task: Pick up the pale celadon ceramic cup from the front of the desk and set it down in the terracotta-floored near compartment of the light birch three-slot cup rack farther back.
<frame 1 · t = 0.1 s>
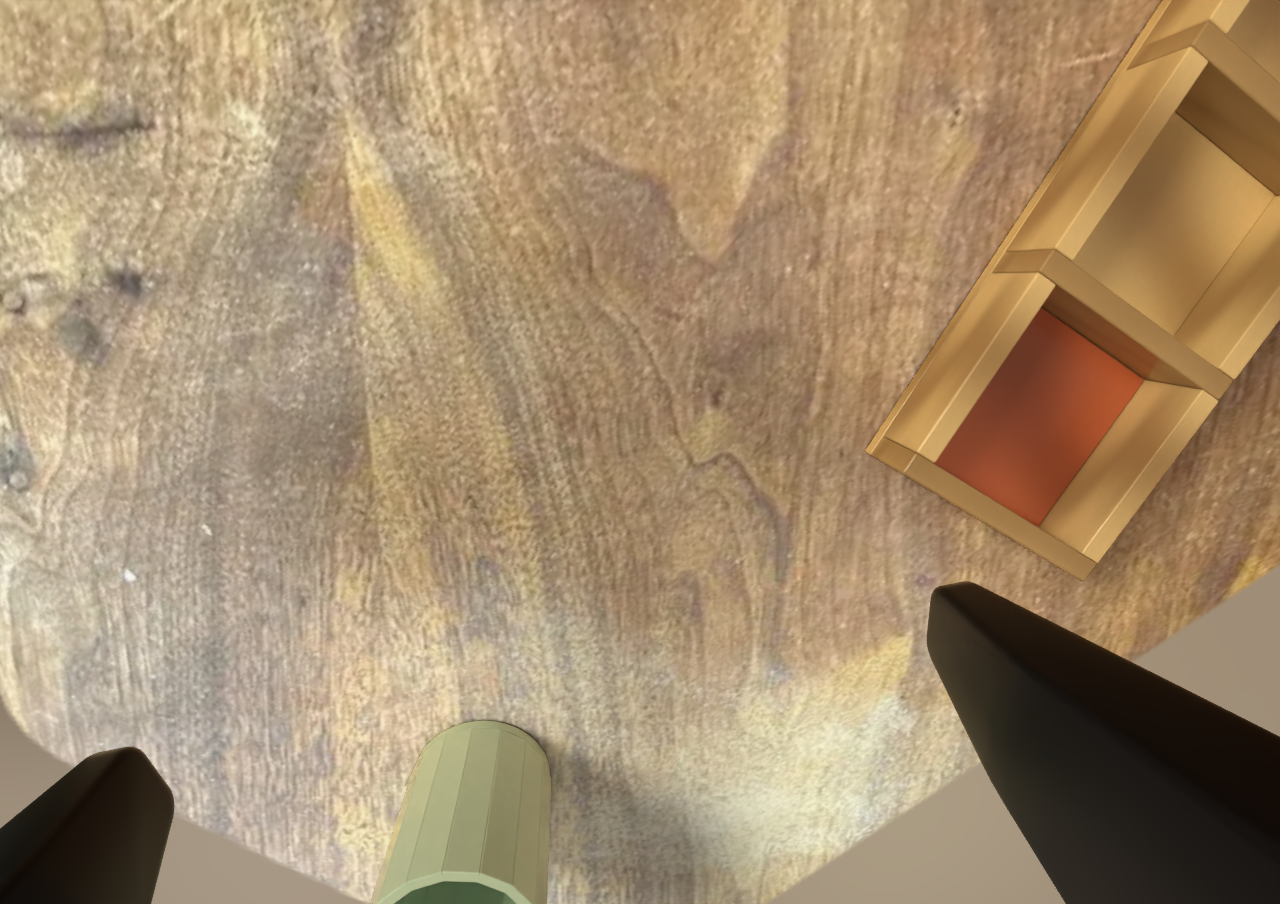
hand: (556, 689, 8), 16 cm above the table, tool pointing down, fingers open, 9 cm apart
rack: (1137, 230, 24), on the table
cup: (482, 778, 27), on the table
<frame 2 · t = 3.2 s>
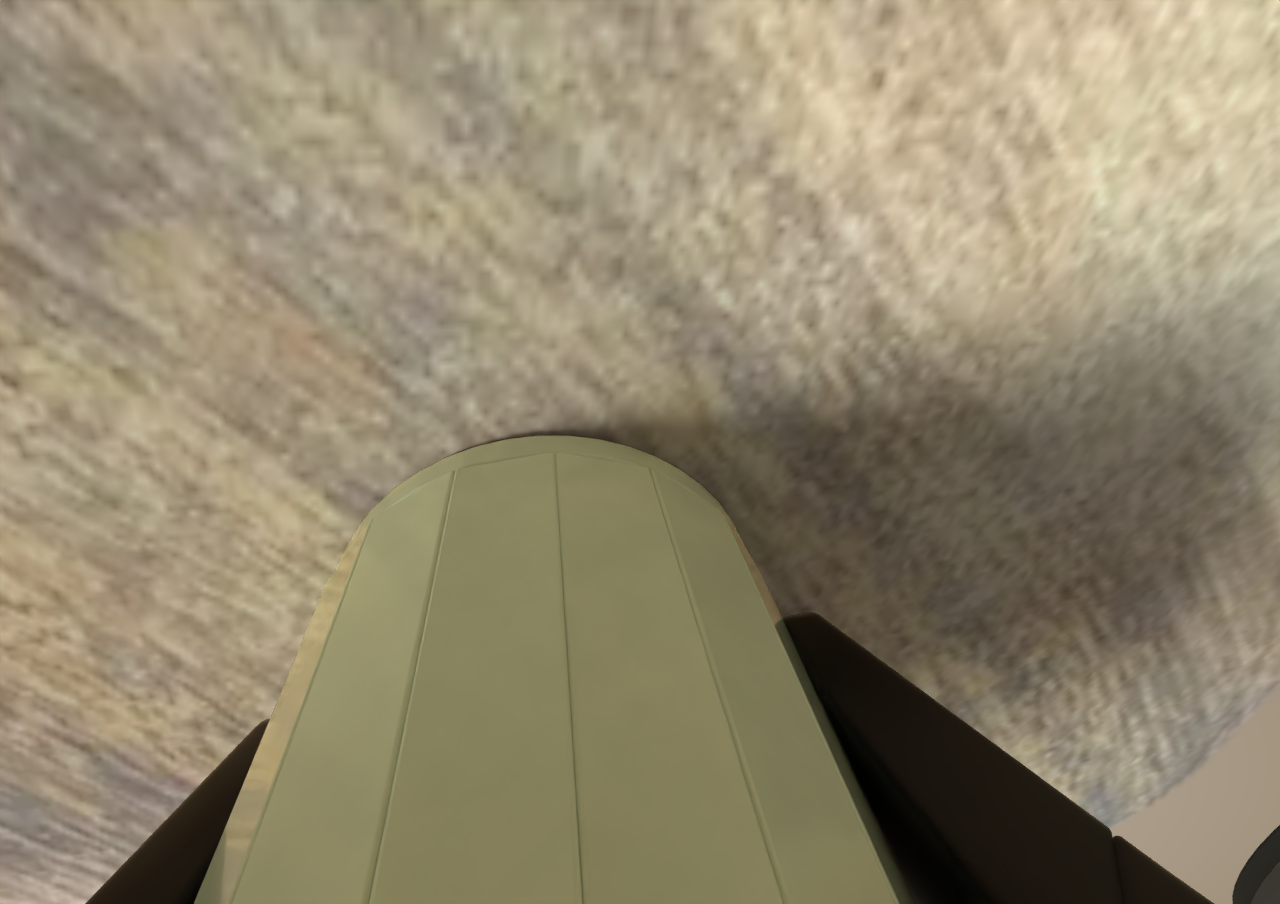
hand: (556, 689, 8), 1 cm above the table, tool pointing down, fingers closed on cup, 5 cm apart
cup: (551, 616, 9), on the table, touching gripper
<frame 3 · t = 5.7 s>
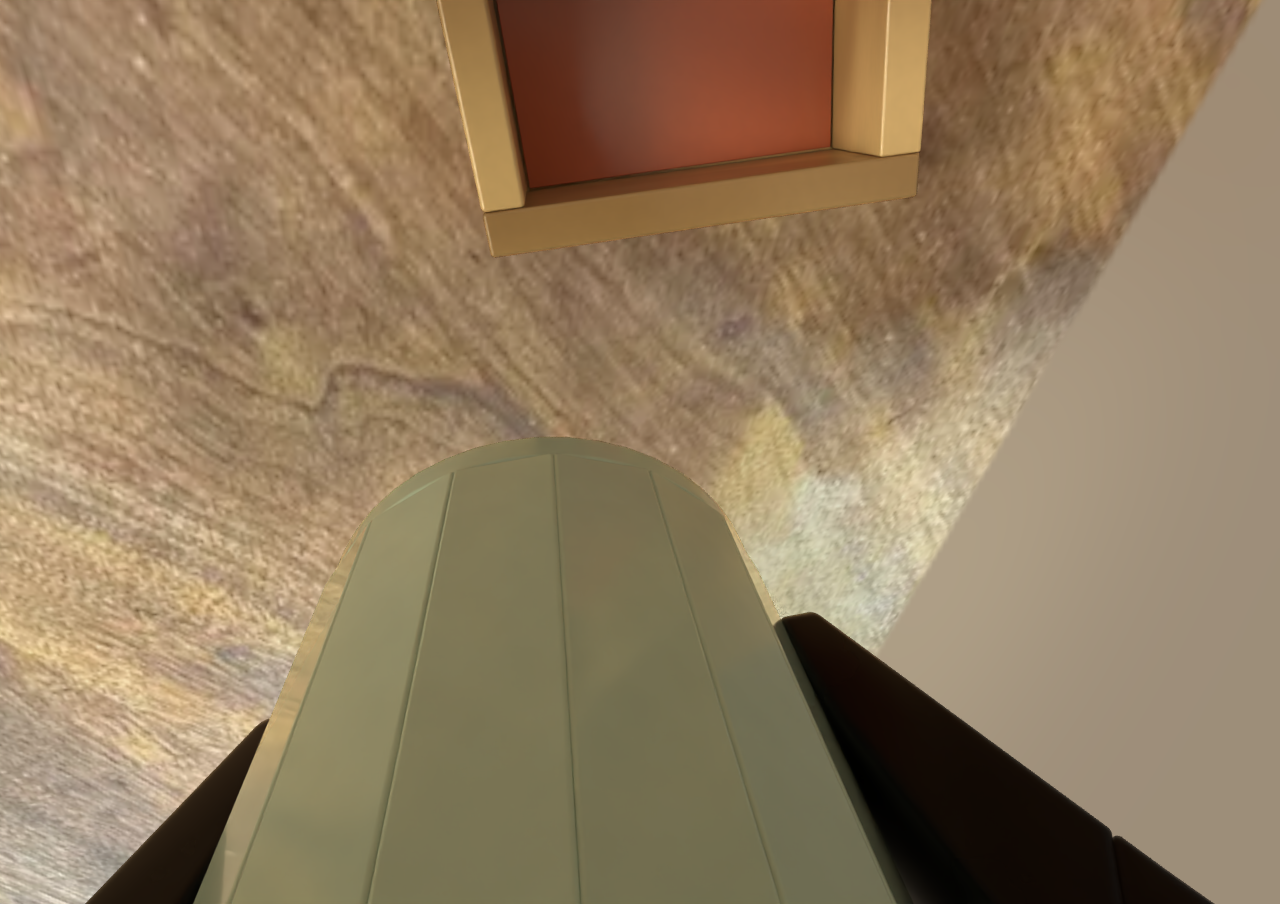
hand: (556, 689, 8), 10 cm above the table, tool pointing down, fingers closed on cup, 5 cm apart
cup: (550, 617, 9), point 9 cm above the table, touching gripper
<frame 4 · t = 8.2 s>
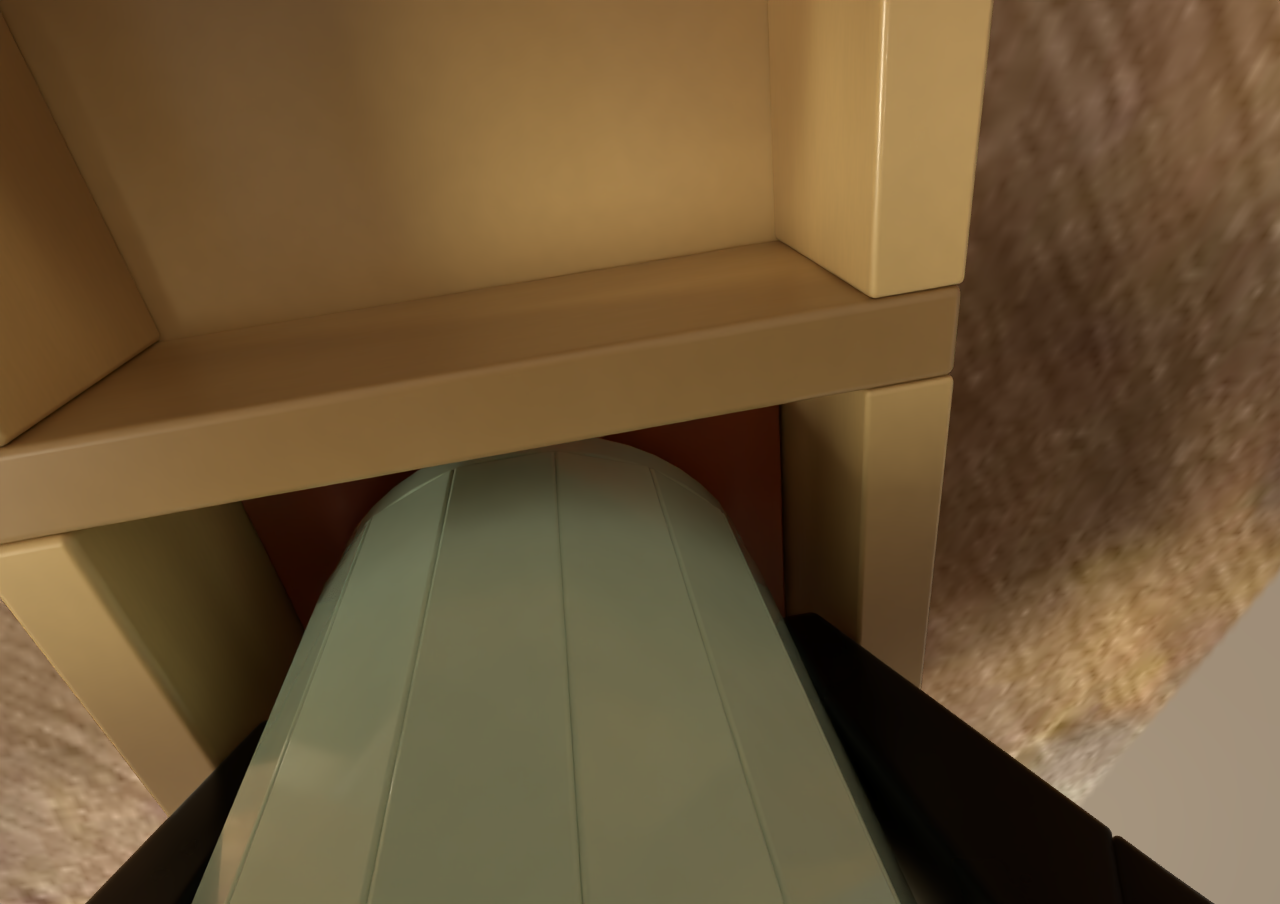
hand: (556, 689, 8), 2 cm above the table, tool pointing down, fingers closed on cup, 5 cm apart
cup: (550, 616, 9), point 1 cm above the table, touching gripper
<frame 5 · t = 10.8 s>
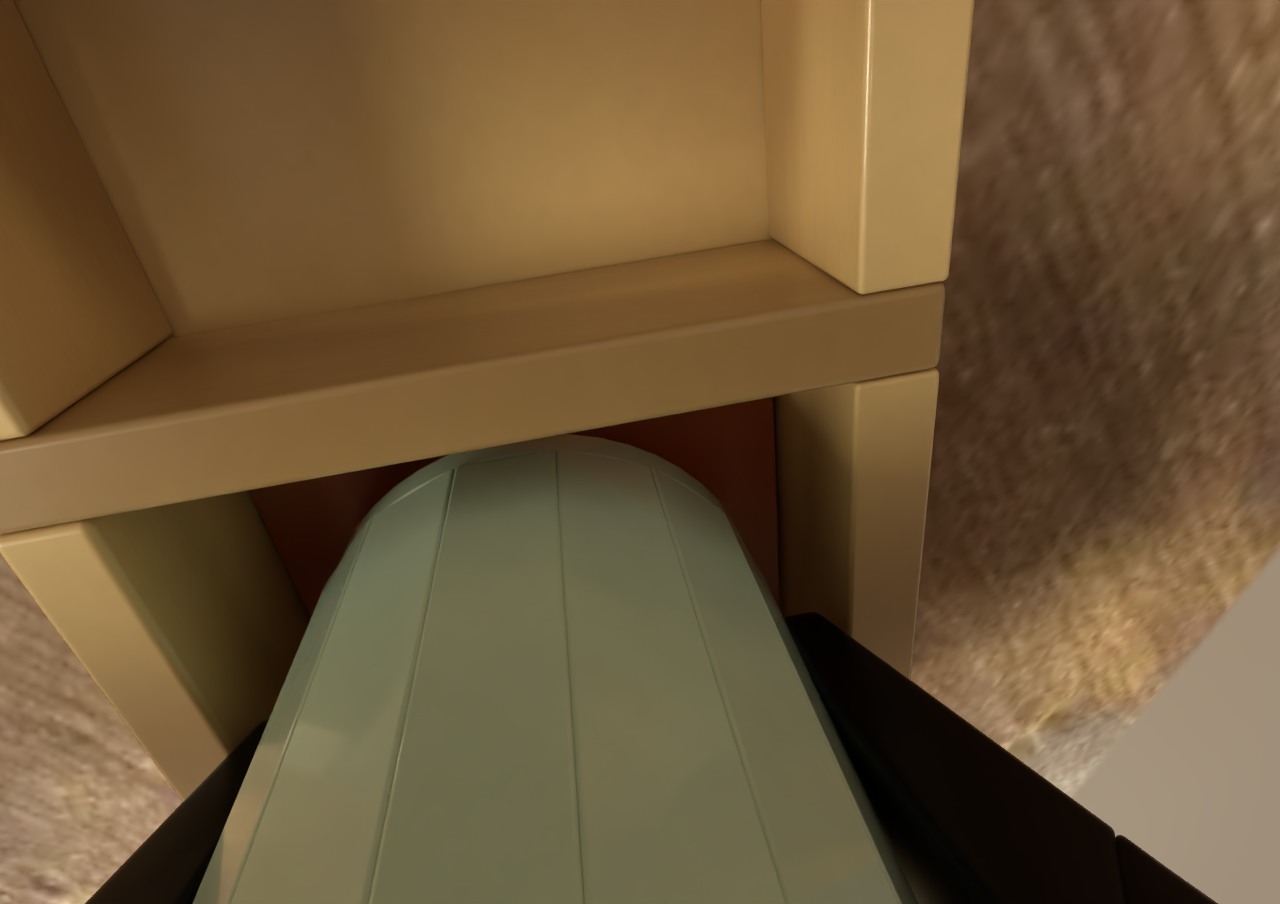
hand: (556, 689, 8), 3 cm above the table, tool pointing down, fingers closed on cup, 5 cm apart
cup: (551, 615, 9), point 1 cm above the table, touching gripper
when the fingers open (3 cm above the table, at t = 13.3 s): cup drops 1 cm, resting on rack.
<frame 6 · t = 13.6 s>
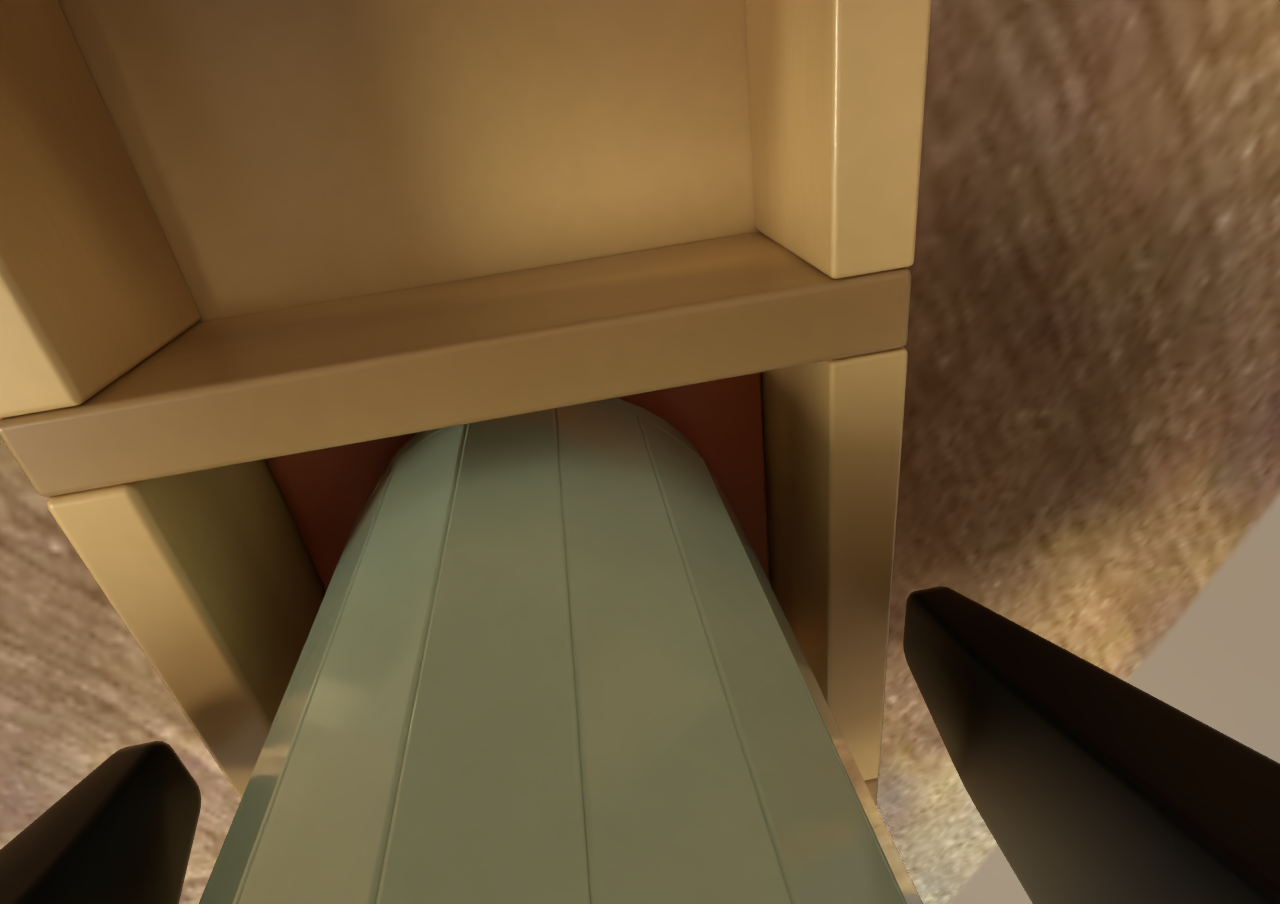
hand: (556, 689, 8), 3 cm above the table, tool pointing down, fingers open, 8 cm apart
cup: (551, 553, 10), point 1 cm above the table, touching rack
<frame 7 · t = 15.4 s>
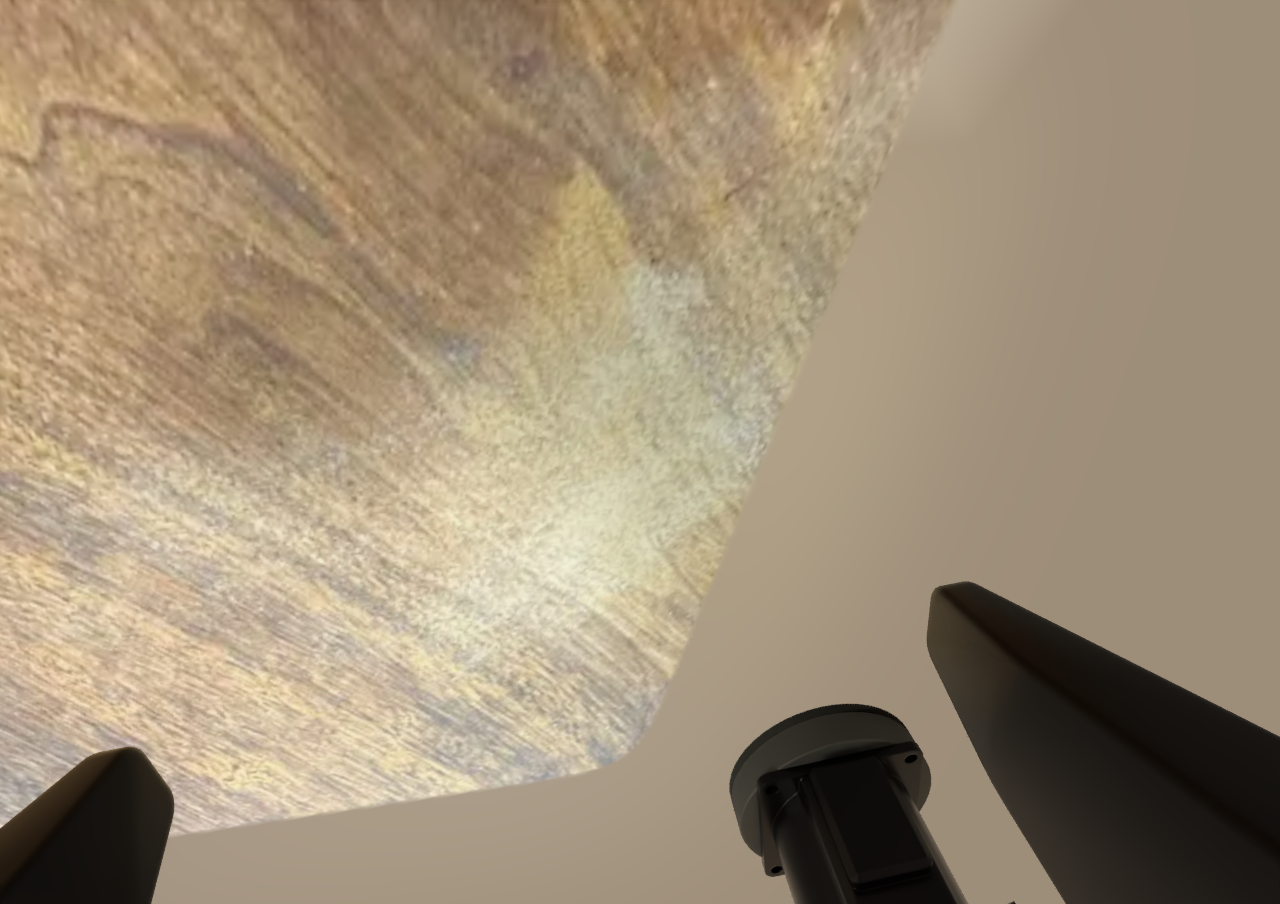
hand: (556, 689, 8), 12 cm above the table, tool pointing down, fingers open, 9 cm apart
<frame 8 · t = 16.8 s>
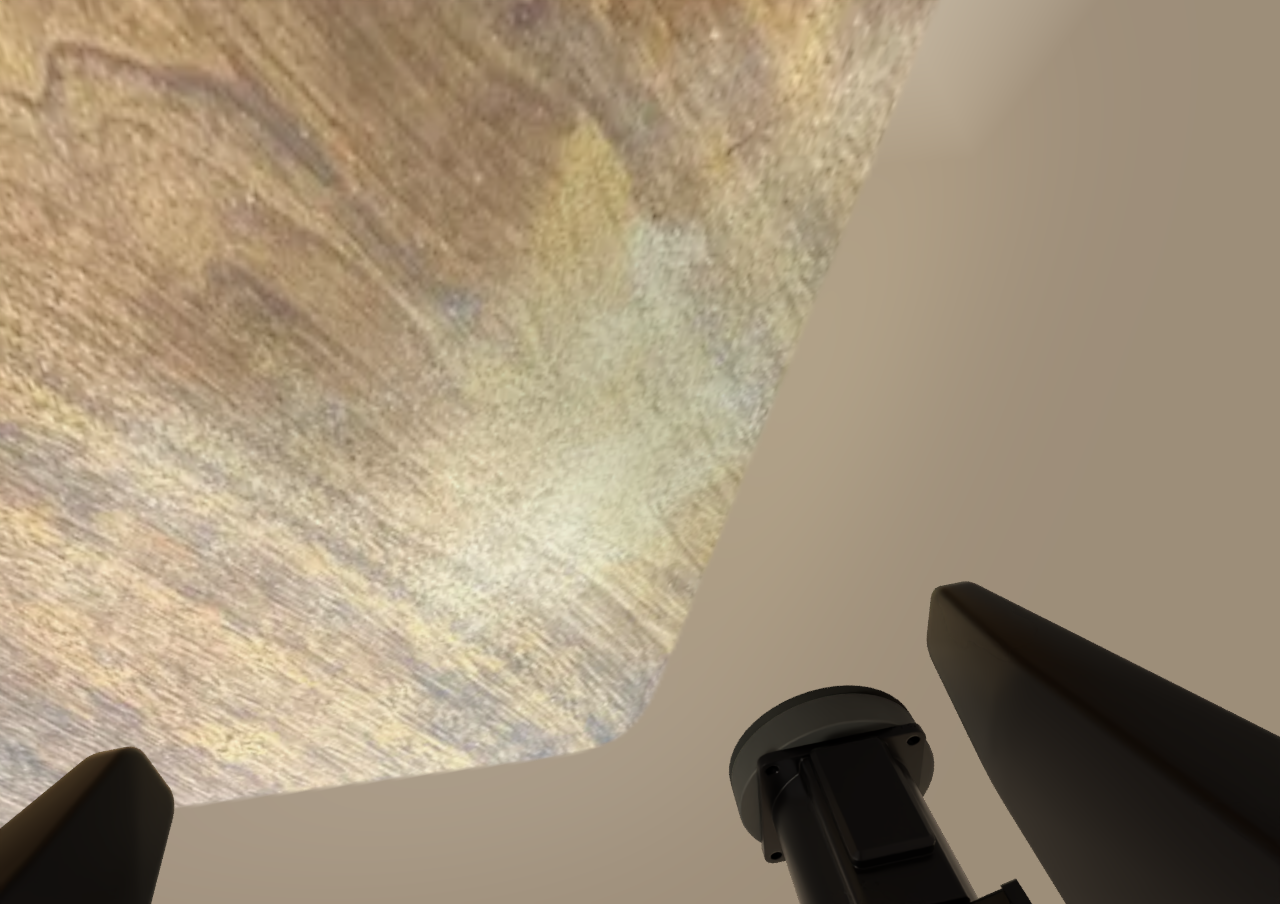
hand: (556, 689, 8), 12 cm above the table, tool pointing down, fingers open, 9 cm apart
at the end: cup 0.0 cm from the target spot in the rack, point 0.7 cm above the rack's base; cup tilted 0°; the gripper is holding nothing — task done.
